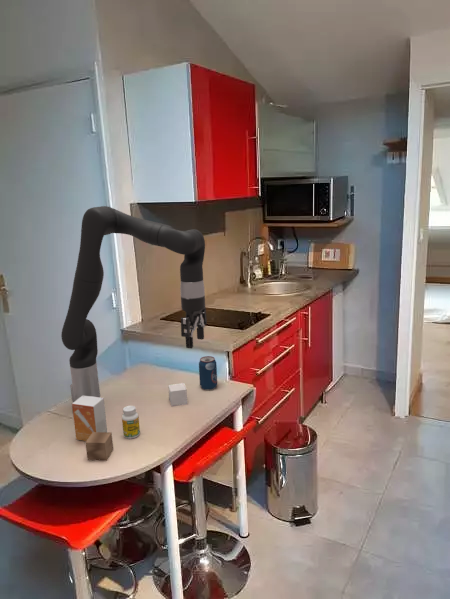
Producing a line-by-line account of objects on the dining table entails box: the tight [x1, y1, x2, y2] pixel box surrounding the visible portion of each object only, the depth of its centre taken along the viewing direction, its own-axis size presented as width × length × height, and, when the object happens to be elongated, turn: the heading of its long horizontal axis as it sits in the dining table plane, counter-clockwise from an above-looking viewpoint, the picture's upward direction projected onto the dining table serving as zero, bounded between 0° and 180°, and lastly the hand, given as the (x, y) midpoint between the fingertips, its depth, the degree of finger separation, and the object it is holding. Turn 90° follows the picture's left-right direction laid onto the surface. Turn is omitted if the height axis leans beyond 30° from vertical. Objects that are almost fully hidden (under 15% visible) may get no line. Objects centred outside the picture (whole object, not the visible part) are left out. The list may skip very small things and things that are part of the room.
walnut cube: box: [84, 431, 114, 462], centre depth 146 cm, size 6×6×6 cm
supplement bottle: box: [121, 405, 141, 440], centre depth 156 cm, size 5×5×10 cm
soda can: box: [198, 355, 218, 391], centre depth 189 cm, size 7×7×12 cm
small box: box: [71, 396, 108, 442], centre depth 155 cm, size 8×6×13 cm
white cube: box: [168, 382, 188, 407], centre depth 178 cm, size 6×6×6 cm
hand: (195, 343), depth 154 cm, fingers open, 8 cm apart
